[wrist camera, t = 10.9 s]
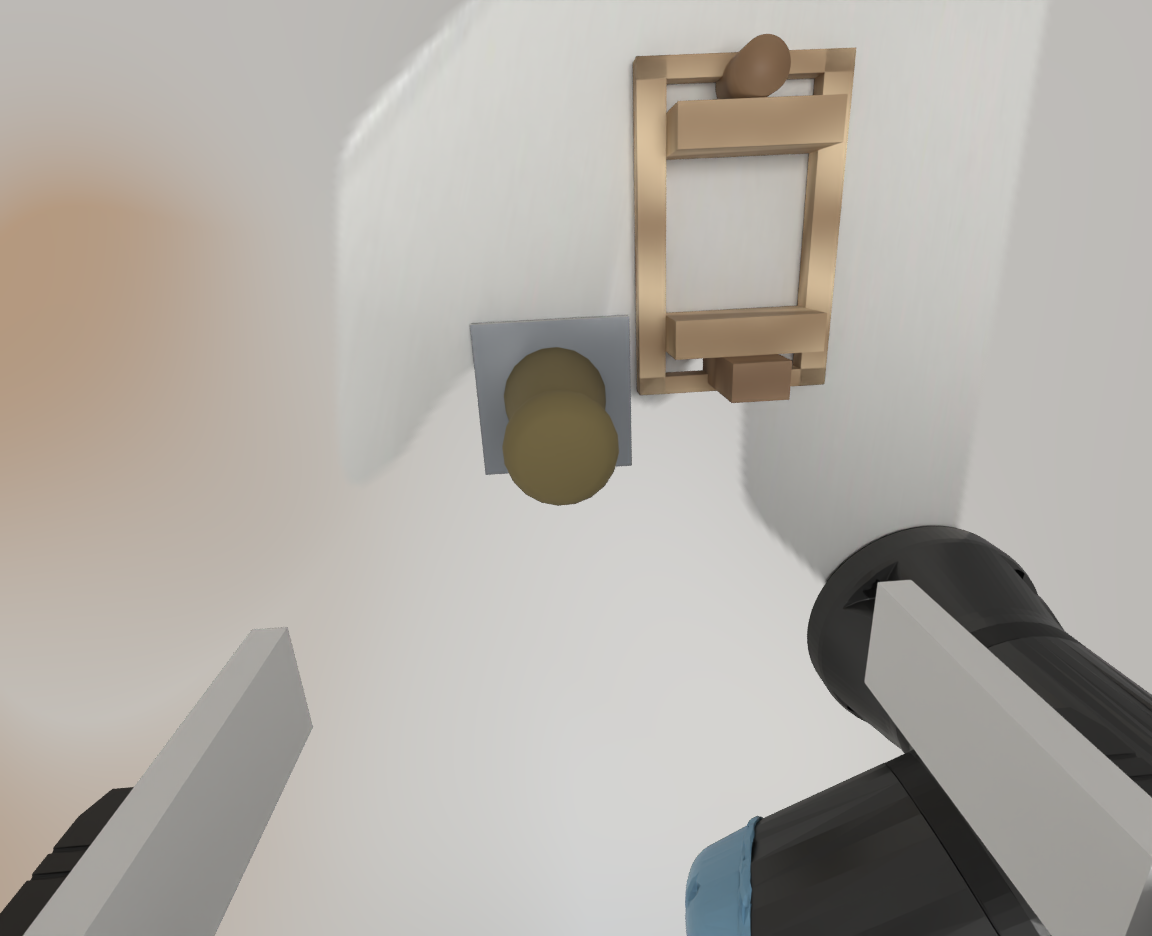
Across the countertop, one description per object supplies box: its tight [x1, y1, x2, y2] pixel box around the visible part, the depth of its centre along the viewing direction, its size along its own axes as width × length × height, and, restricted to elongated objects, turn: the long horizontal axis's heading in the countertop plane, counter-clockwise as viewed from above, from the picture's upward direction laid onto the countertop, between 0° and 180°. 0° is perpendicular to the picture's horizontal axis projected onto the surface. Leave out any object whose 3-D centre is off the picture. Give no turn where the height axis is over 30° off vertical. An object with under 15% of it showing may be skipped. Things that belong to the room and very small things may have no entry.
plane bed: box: [633, 34, 856, 403], centre depth 32 cm, size 17×11×6 cm, turn 3°
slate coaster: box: [470, 315, 632, 475], centre depth 37 cm, size 9×9×1 cm
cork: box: [502, 347, 619, 506], centre depth 31 cm, size 6×6×11 cm
